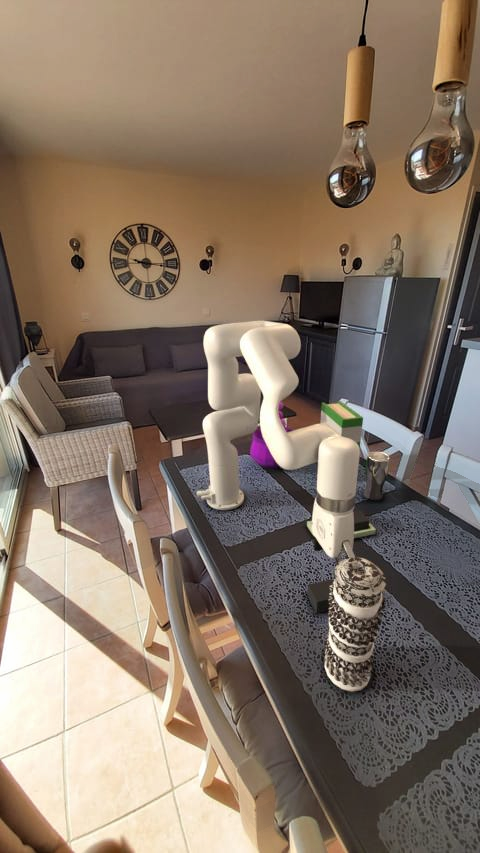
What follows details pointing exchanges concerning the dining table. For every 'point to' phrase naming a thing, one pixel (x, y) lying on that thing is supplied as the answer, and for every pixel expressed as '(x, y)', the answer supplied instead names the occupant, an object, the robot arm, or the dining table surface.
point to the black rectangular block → (320, 595)
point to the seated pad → (360, 521)
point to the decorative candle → (353, 622)
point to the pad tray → (361, 533)
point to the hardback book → (342, 420)
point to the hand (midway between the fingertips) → (330, 564)
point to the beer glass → (376, 474)
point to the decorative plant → (265, 445)
